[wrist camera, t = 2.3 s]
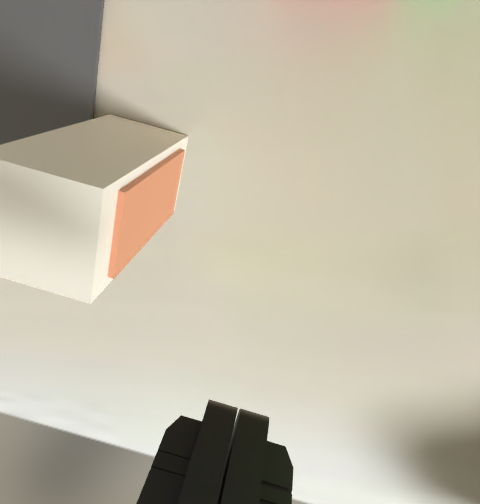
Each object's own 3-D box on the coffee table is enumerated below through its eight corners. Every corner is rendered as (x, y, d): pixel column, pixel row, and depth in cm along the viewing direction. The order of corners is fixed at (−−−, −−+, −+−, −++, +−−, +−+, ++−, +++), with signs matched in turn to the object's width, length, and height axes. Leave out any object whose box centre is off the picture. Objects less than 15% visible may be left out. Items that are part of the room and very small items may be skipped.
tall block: (109, 114, 27) (-27, 152, 16) (193, 137, 27) (111, 191, 16) (101, 191, 29) (-25, 270, 18) (178, 212, 29) (97, 305, 18)
